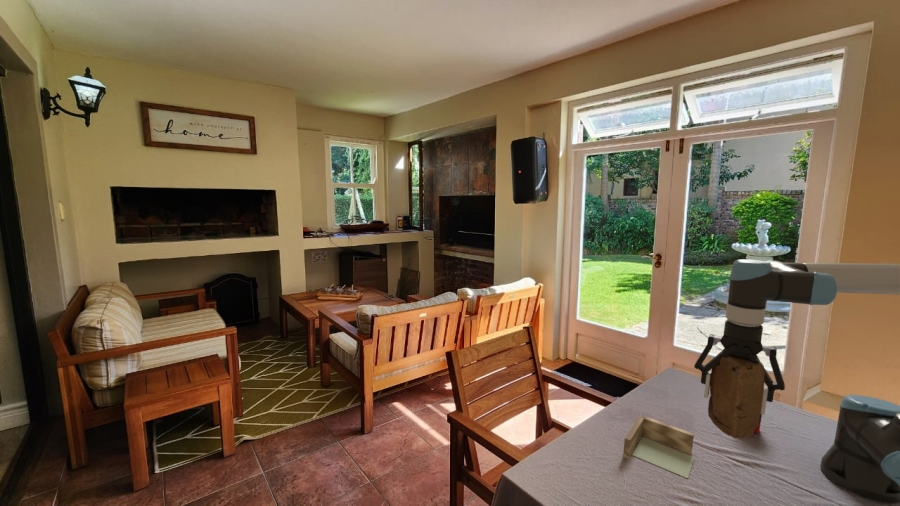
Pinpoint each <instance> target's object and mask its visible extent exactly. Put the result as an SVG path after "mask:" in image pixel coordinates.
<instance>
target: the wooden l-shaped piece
mask: <svg viewBox="0 0 900 506" xmlns="http://www.w3.org/2000/svg"><path fill="white" fill-rule="evenodd" d="M642 437H644V438H647V439H649V440H652V441H655V442H657V443H660V444H662V445H665V446H668V447H670V448H673V449H675V450H678V451H680V452H683V453H686V454H688V455H691V456H692V453H693V447H694V446H693V445H694V437H695V433H694V432H691V431H688V430H685V429H683V428H682V429H681V428H680V427H677V426H673V425H670V424H668V423H666V422H662V421H659V420H656V419H654V418H651V417H648V416H645V415H642V416H641V415H638V416H637V418H636V420H635V421H634V422H633V425H632V426H631V428H630V430H628V433H627V434H626V435H625V437H624V443H623V453H622V458H624V459H627V460H629V459H630V458H631V456H632V454H633V452H634V450H635V449H636V447H637V445H638V443H639V442H640V440H641V438H642Z"/></svg>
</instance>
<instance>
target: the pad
mask: <svg viewBox="0 0 900 506" xmlns="http://www.w3.org/2000/svg"><path fill="white" fill-rule="evenodd" d="M631 456H633V457H635V458H638V459H640V460H641V461H644V462H647V463H649V464H652V465H653V466H656V467H659V468H661V469H663V470H666V471H668V472H670V473H673V474H676V475H678V476H681V477H682V478H685V479H688V478H689V476H690V474H691V473H690V472H691V469H692V466H693V463H694V460H695V456H693V455H692V454H691V455H690V454H688V453H685V452H683V451H680V450H677V449H675V448H672V447H670V446H667V445H664V444H662V443H659V442H657V441H654V440H652V439H649V438H646V437H644V436H642V437H641V438H640V440H639V442H638V444H637V445H636V447H635V449H634V451H633V452H632V454H631Z"/></svg>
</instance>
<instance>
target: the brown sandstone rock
mask: <svg viewBox="0 0 900 506" xmlns="http://www.w3.org/2000/svg"><path fill="white" fill-rule="evenodd" d="M764 368H765V366H764V364H763V363H762V362H761V361H760V362H759V363H752V362H751V361H750V359H747V360H744V359H741V358H735V357H732V356H731V355H728V356H727V357H726V358H725V357H722V358H721V361H720V362H719V363H718V364H717V365H716V366H714V367H713V368H712V369H711V370H710V371H711V379H710V389H709V397H708V398H709V399H708V406H707V413H708V417H709V418H710V420H711V422H712V423H713V424H714V426H716V428H717V429H719V431H721V432H722V433H724V434H725V435H727V436H729V437H731V438H733V439H742V440H743V439H744V440H747V439H749V438H750V437H752V436H753V435H754V433H753V432H754V430H756V428H757V427H758V425H759V420H760V415H761V407H762V400H763V391H764V385H765V382H764V376H765V370H766V369H765V370H764Z"/></svg>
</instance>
